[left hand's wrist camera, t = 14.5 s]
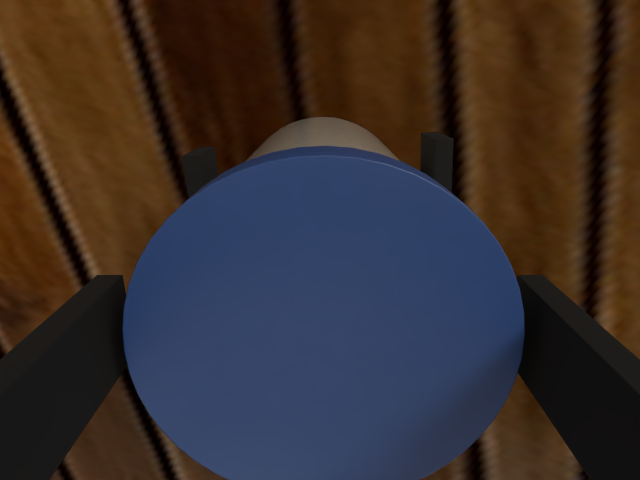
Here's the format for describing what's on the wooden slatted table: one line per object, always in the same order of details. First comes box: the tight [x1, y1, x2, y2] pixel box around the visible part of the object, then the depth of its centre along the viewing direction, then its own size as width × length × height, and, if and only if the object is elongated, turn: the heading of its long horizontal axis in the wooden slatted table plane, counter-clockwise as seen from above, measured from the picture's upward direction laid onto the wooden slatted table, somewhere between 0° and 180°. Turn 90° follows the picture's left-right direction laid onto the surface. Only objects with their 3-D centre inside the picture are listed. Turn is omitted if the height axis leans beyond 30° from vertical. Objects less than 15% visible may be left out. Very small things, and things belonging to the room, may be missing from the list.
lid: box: [123, 146, 525, 480], centre depth 12 cm, size 11×11×2 cm
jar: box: [246, 117, 400, 161], centre depth 19 cm, size 10×10×16 cm
